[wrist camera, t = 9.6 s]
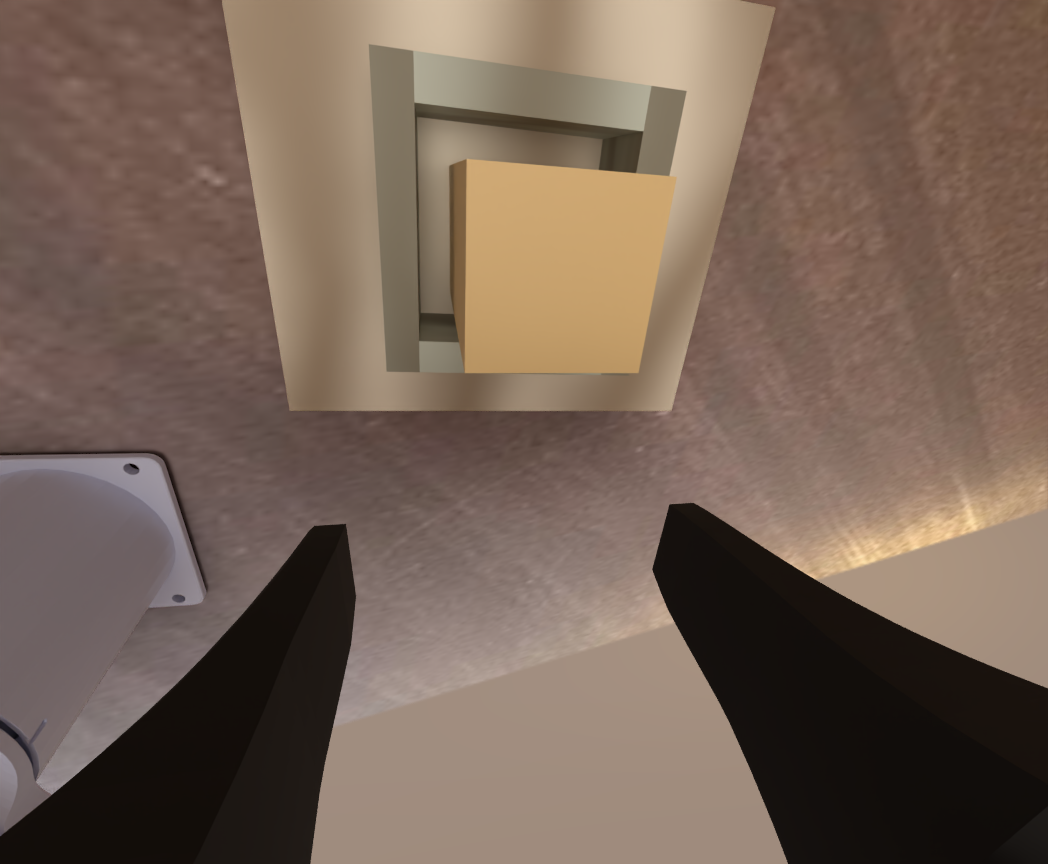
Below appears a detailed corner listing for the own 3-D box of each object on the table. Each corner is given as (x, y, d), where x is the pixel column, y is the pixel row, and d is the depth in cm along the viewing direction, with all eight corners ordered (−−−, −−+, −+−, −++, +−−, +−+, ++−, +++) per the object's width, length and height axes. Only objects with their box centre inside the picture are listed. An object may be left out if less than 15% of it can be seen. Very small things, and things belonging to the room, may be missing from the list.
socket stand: (293, 404, 19) (262, 456, 15) (214, -92, 12) (128, -198, 9) (665, 405, 22) (710, 449, 18) (763, 13, 15) (862, -35, 12)
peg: (449, 291, 17) (464, 373, 10) (448, 165, 15) (466, 159, 8) (556, 295, 18) (638, 373, 11) (568, 175, 16) (677, 176, 9)
